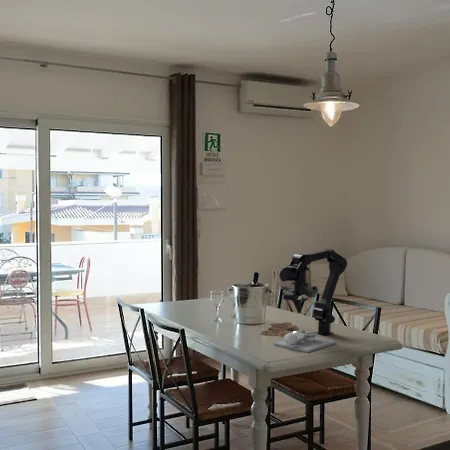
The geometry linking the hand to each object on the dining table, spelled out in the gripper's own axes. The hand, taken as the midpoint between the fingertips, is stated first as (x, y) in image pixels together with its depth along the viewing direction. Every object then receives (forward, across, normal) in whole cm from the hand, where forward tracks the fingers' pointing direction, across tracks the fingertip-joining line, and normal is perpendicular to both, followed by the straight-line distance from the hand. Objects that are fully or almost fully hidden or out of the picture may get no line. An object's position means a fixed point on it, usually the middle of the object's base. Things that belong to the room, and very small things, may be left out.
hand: (299, 312), depth 264 cm
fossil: (+13, +2, +14) cm, 19 cm away
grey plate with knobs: (+12, -8, -9) cm, 17 cm away
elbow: (+11, -7, -8) cm, 15 cm away
